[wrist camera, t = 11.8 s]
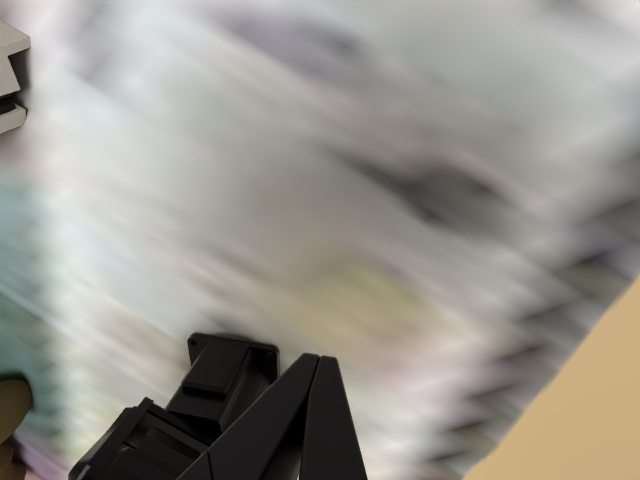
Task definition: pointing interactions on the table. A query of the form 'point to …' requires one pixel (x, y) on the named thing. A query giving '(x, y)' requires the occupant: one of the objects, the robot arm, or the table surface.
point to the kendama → (12, 424)
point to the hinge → (10, 77)
